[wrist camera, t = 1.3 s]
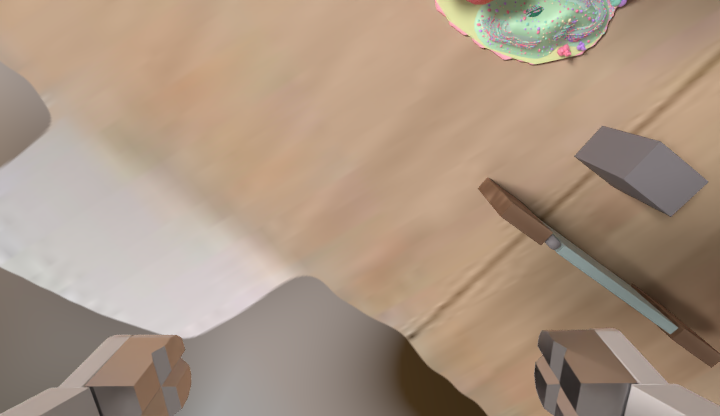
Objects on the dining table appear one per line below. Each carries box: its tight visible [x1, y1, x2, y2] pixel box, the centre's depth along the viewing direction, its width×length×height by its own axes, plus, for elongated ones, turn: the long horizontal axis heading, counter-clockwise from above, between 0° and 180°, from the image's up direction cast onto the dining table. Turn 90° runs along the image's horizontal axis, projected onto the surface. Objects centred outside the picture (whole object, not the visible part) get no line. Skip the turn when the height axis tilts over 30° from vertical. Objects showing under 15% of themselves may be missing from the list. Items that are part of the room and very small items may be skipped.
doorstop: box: [574, 126, 708, 217], centre depth 38 cm, size 4×6×9 cm, turn 55°
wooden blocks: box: [478, 177, 720, 367], centre depth 42 cm, size 2×29×9 cm, turn 55°
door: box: [538, 218, 678, 334], centre depth 42 cm, size 1×17×8 cm, turn 56°
